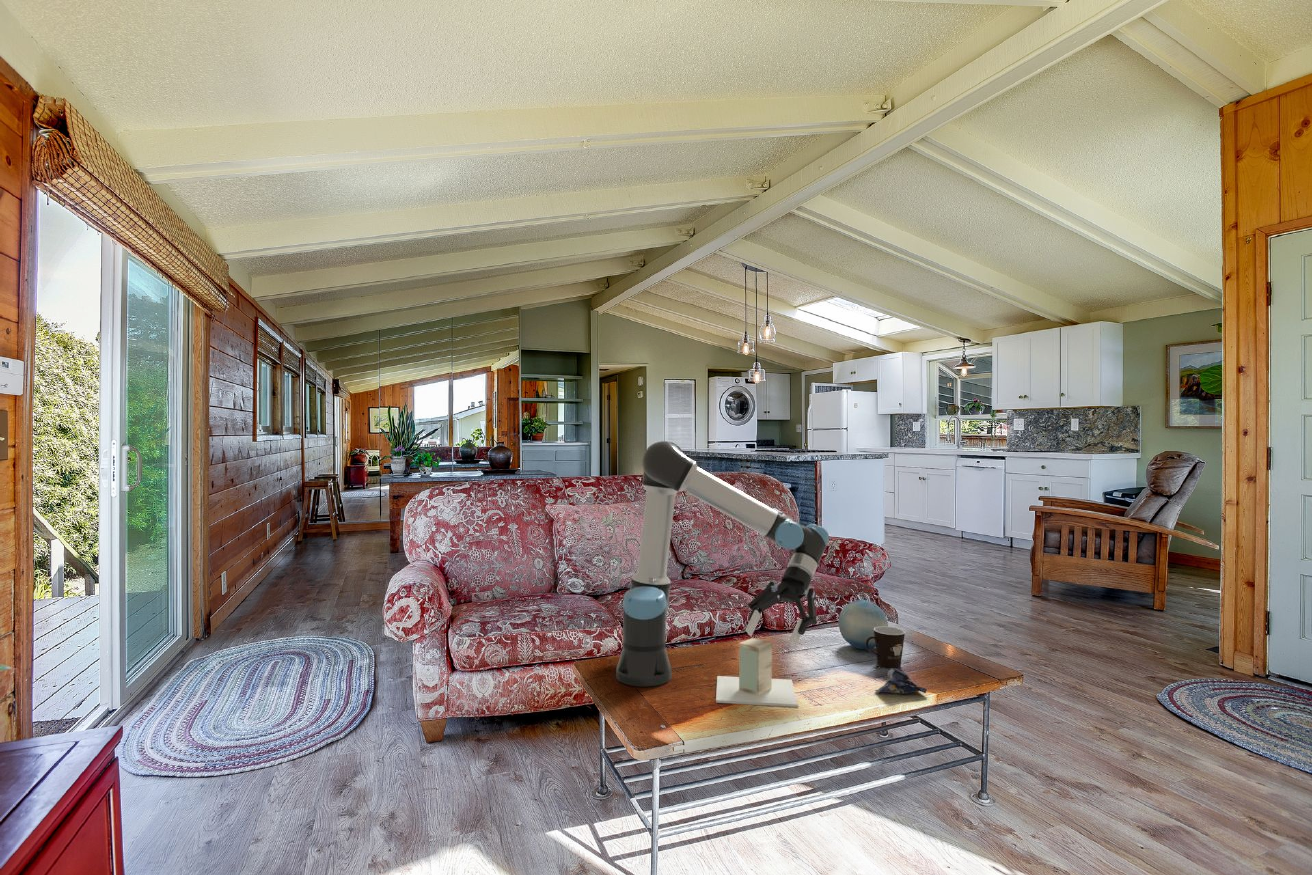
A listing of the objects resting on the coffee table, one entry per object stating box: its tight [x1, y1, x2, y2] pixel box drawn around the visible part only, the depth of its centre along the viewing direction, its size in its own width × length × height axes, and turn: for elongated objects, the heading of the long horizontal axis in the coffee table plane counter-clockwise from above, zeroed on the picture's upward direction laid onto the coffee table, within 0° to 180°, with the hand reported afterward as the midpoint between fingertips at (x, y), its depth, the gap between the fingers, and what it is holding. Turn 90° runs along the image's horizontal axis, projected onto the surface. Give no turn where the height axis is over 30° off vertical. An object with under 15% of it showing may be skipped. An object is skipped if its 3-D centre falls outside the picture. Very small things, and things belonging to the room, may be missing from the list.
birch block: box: [738, 637, 773, 696], centre depth 170 cm, size 6×6×12 cm
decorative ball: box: [838, 599, 889, 650], centre depth 208 cm, size 15×15×15 cm
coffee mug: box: [866, 626, 906, 670], centre depth 192 cm, size 12×9×10 cm
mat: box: [715, 675, 799, 708], centre depth 170 cm, size 20×17×1 cm
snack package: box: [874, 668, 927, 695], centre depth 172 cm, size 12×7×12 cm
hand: (769, 638), depth 174 cm, fingers open, 13 cm apart
